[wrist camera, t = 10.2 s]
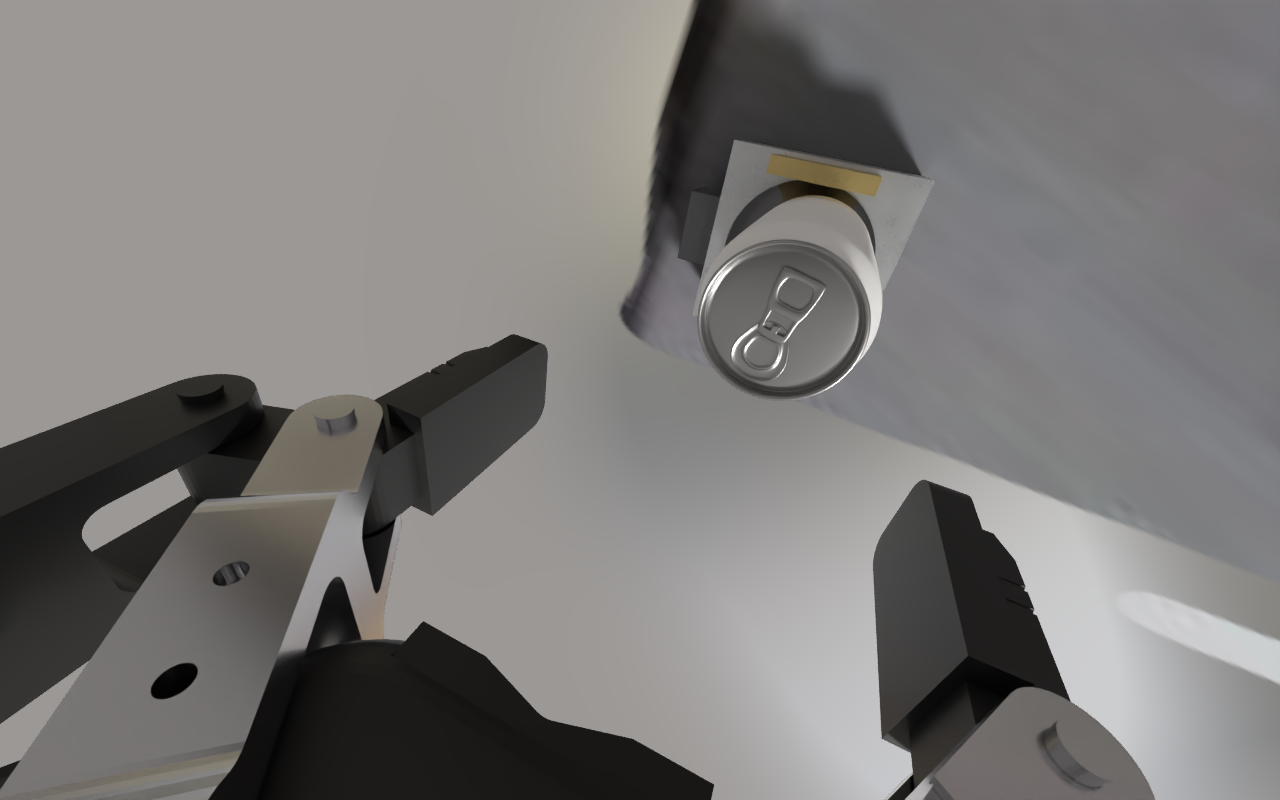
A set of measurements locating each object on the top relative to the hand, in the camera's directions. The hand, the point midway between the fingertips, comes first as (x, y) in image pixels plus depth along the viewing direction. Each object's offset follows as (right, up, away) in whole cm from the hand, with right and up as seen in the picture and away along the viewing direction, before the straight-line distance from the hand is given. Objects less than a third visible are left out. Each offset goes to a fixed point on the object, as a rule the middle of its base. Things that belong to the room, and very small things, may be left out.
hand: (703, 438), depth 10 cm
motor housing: (+9, +11, +20) cm, 25 cm away
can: (+8, +9, +15) cm, 19 cm away
